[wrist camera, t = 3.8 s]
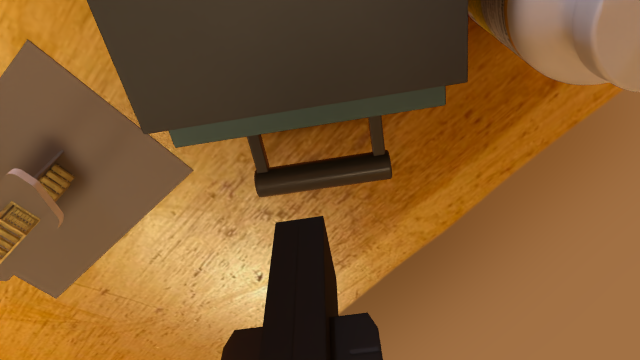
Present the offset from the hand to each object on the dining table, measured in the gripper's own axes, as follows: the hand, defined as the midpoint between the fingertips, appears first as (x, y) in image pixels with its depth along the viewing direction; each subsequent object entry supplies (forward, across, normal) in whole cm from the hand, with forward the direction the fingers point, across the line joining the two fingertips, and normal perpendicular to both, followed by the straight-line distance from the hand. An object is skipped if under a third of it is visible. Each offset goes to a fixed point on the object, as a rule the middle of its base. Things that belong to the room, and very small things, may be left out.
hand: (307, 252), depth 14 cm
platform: (+15, -20, -4) cm, 25 cm away
